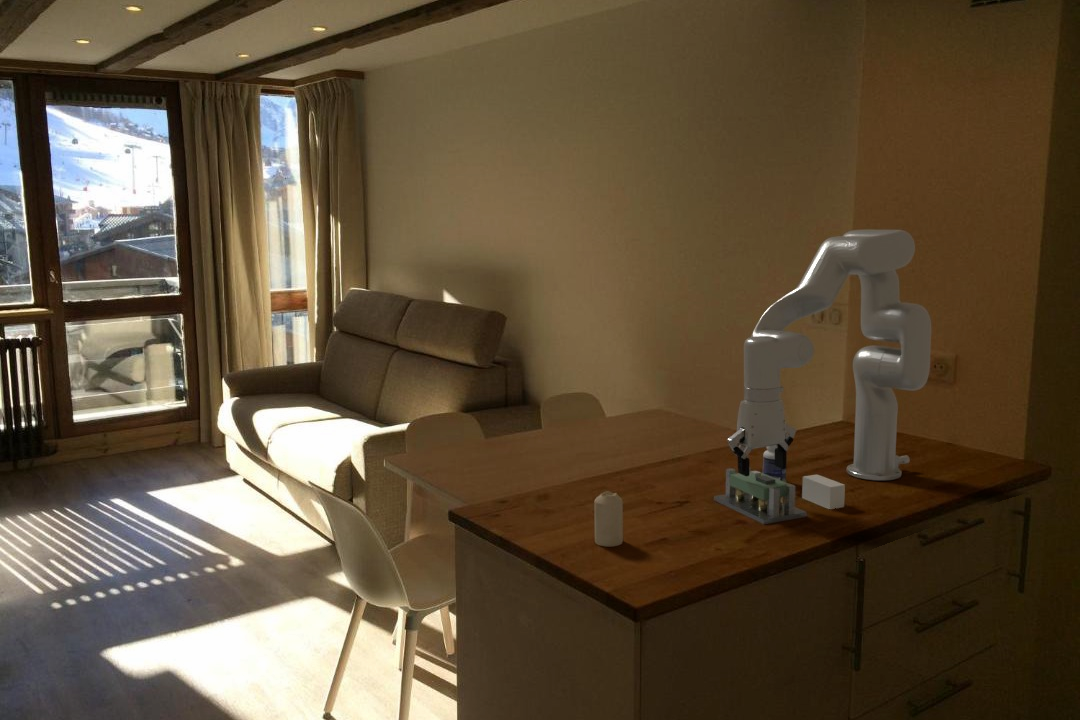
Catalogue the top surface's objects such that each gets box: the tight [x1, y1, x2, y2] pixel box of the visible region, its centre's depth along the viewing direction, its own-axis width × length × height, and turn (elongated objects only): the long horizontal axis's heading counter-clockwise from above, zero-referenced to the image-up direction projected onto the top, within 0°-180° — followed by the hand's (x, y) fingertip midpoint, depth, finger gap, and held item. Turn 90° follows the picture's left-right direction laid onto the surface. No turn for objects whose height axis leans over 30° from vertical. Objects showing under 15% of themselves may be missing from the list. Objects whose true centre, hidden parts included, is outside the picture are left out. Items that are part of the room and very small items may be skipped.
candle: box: [593, 490, 624, 548], centre depth 177 cm, size 6×6×10 cm
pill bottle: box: [762, 445, 787, 483], centre depth 214 cm, size 5×5×10 cm
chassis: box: [713, 466, 807, 525], centre depth 196 cm, size 11×18×7 cm, turn 23°
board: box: [730, 470, 789, 500], centre depth 195 cm, size 7×12×3 cm, turn 23°
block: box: [801, 473, 846, 510], centre depth 199 cm, size 4×9×5 cm, turn 23°
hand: (762, 471), depth 195 cm, fingers open, 9 cm apart
